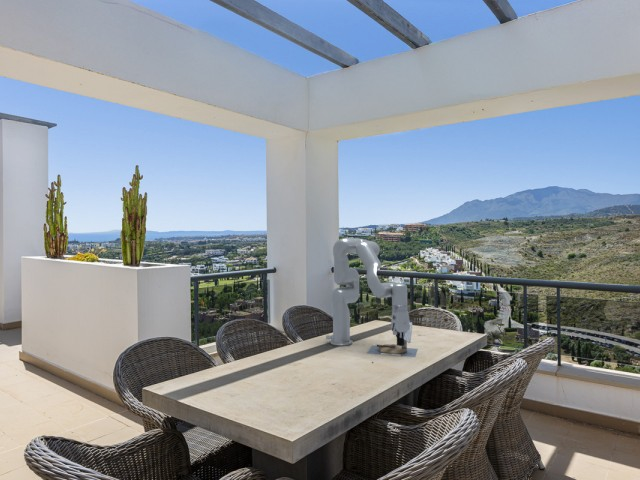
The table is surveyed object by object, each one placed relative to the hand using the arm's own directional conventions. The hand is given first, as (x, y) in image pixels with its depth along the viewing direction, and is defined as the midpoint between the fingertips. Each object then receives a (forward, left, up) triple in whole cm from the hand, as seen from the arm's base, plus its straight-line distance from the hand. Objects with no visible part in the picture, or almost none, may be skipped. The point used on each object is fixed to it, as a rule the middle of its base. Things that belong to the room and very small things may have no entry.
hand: (400, 345), depth 215 cm
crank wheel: (-4, +4, -4) cm, 7 cm away
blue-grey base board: (-4, +4, -6) cm, 8 cm away
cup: (-1, +29, -6) cm, 30 cm away
